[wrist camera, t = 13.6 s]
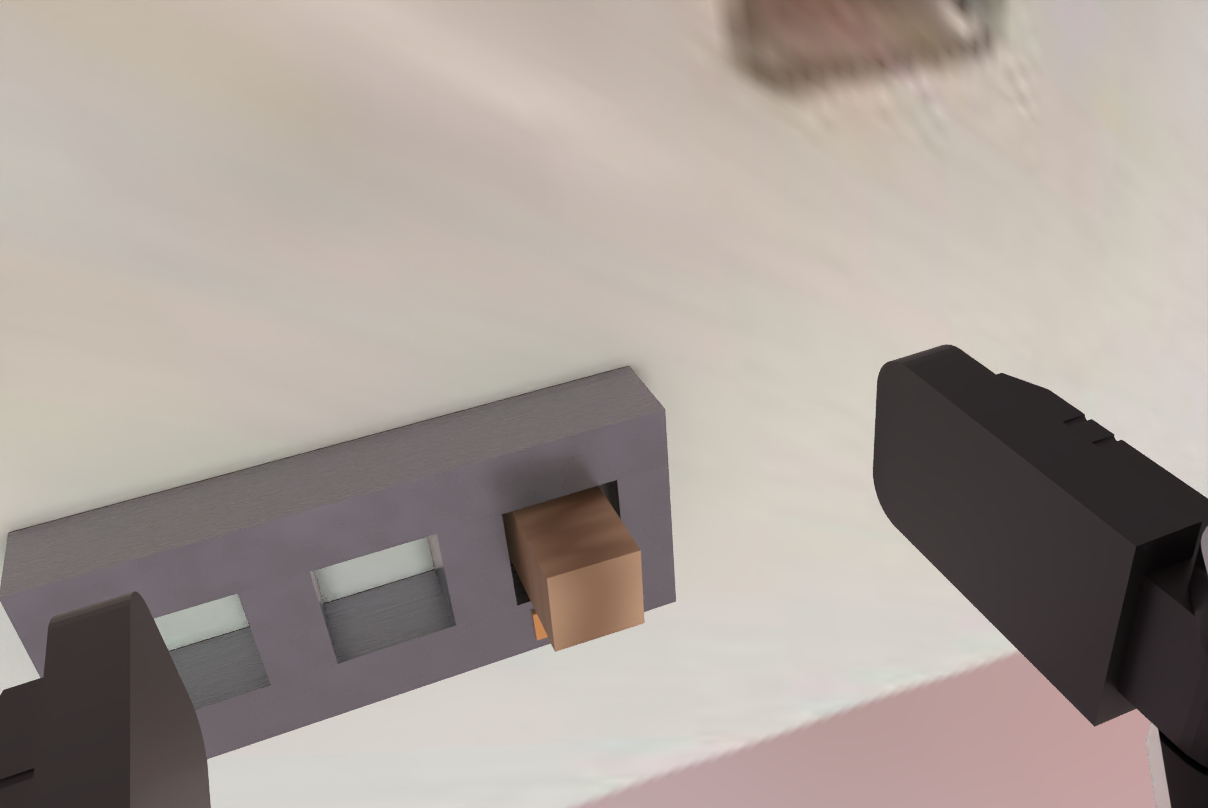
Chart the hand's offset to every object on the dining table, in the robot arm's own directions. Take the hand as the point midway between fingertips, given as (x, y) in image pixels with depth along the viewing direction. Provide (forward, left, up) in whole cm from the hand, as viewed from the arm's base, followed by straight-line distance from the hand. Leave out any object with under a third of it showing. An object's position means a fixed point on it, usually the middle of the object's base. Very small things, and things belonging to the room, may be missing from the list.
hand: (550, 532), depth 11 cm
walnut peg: (-7, +23, -30) cm, 39 cm away
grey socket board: (+1, +23, -30) cm, 38 cm away
